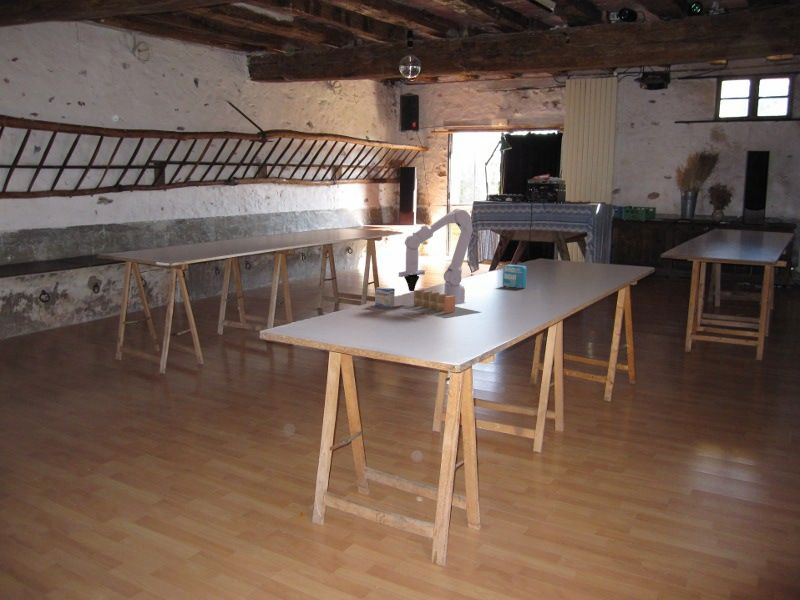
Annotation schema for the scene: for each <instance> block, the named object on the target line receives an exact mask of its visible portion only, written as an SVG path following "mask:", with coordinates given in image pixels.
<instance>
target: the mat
mask: <svg viewBox="0 0 800 600" xmlns="http://www.w3.org/2000/svg"><path fill="white" fill-rule="evenodd" d="M397 308H399V309H400V308H401V309H404V310H408V311H413V312H418V313H422V314H425V315H430V316H432V317H433V316H434V317H437V318H442V319H450V318H456V317H463V316H467V315H468V316H469V315H473V314H479V313H482V311H479V310H475V309H474V310H473V309H469V308H464V307H460V306H459V307H458V306H455V312H453V313H444V311H440V312H438V311H436V309H433V310H429V307H428V308H421V306H414V303H413V304H406V305H400V306H399V305H398V306H397Z"/></svg>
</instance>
